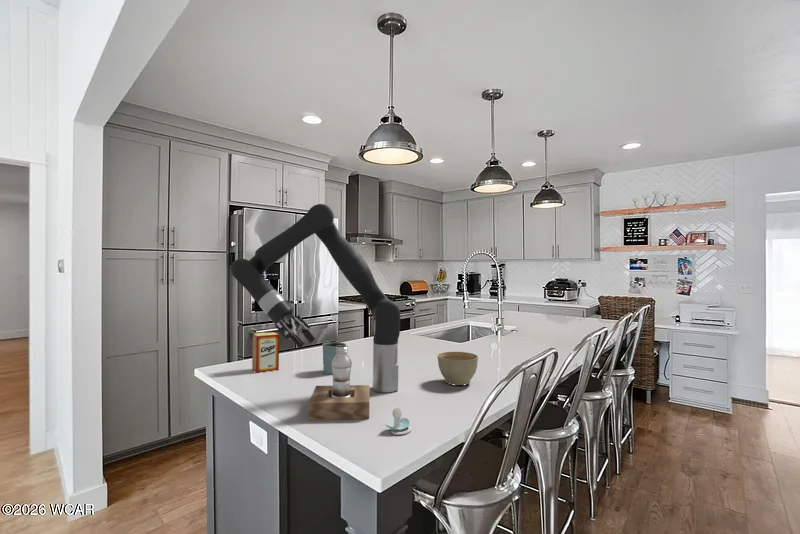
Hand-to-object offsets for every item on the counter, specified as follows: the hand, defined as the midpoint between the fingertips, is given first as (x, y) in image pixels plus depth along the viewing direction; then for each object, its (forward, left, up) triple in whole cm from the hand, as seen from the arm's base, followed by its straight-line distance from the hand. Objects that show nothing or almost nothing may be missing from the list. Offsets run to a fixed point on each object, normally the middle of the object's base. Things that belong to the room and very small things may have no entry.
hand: (308, 343), depth 127 cm
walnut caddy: (-11, +3, -20) cm, 23 cm away
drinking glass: (-5, -42, -21) cm, 47 cm away
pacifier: (-28, +20, -21) cm, 41 cm away
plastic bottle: (-11, +3, -21) cm, 24 cm away
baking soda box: (+25, -46, -21) cm, 56 cm away
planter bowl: (-55, -24, -21) cm, 64 cm away
